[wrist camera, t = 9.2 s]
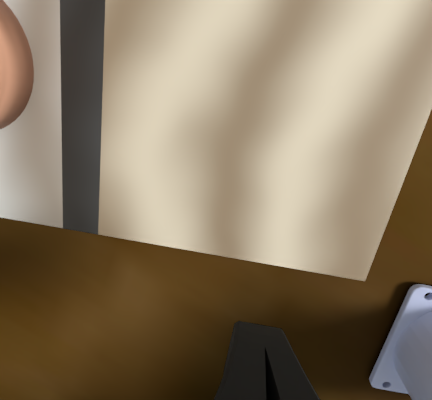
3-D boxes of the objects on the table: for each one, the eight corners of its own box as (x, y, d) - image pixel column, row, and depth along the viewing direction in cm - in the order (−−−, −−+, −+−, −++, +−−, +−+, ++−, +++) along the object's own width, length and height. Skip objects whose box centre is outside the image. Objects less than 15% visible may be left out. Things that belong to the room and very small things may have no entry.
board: (483, -63, 13) (501, -73, 12) (358, 271, 19) (364, 281, 18) (-263, -186, 13) (-301, -206, 12) (-162, 180, 19) (-182, 185, 18)
